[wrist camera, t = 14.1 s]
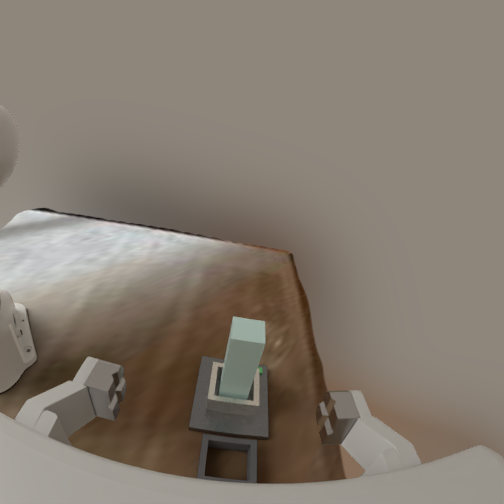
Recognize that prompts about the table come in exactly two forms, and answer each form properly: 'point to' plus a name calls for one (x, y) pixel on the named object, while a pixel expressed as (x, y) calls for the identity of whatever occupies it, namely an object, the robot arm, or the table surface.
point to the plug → (242, 357)
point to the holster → (230, 445)
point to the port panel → (229, 405)
